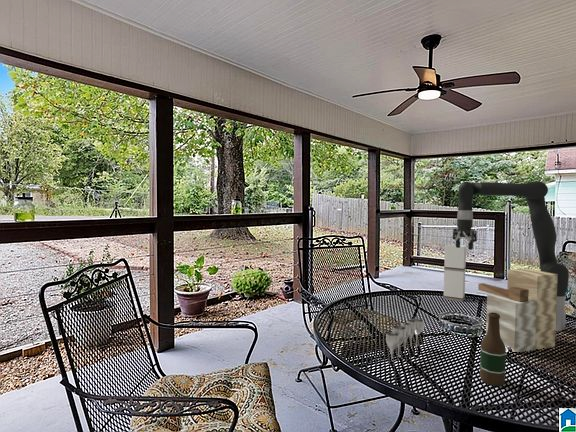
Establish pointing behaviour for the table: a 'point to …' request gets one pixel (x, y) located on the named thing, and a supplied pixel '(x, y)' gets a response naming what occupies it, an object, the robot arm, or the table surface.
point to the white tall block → (454, 272)
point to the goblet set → (403, 334)
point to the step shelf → (527, 311)
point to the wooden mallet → (506, 292)
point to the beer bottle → (493, 354)
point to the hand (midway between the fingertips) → (464, 248)
